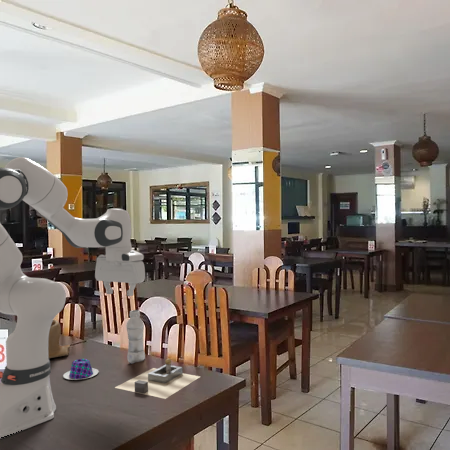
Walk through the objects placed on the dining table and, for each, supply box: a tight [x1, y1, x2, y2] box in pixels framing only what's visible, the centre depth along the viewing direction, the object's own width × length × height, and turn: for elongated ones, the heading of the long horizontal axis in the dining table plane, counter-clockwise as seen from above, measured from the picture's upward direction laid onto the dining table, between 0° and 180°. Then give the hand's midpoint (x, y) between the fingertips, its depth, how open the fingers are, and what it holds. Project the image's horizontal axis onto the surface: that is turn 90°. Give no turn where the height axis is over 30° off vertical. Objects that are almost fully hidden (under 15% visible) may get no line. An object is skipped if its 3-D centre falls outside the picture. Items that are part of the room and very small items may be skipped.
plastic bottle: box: [125, 309, 146, 365], centre depth 168 cm, size 6×7×20 cm
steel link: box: [148, 364, 184, 384], centre depth 149 cm, size 10×7×2 cm
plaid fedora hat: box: [62, 358, 100, 381], centre depth 157 cm, size 12×12×5 cm
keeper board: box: [114, 358, 201, 400], centre depth 145 cm, size 20×20×8 cm
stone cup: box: [48, 319, 71, 359], centre depth 178 cm, size 15×12×15 cm
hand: (119, 294), depth 154 cm, fingers open, 8 cm apart
